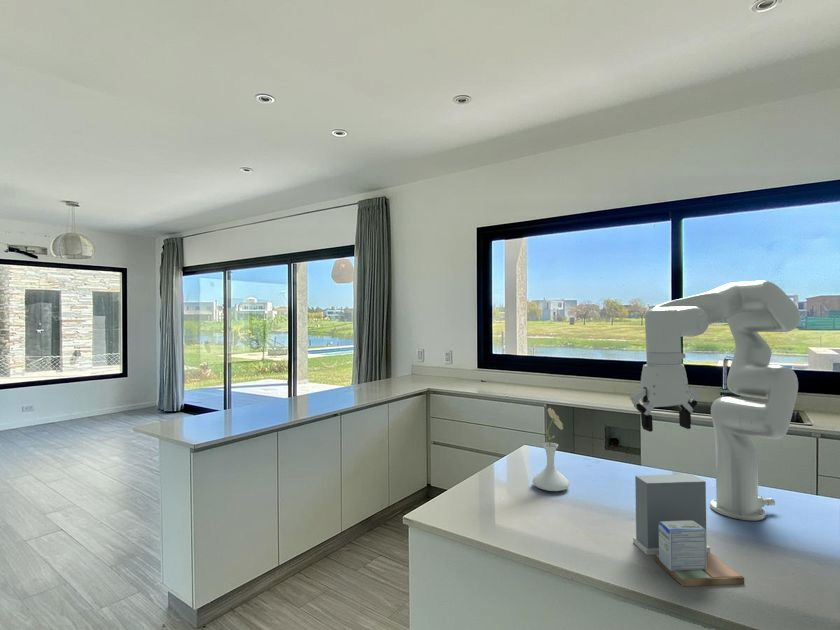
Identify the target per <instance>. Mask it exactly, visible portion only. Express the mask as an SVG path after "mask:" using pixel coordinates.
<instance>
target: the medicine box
mask: <svg viewBox="0 0 840 630" xmlns="http://www.w3.org/2000/svg"><path fill="white" fill-rule="evenodd" d="M706 539H707V529H706V530H705V529H704V528H703V527H702V526H700V525H699V524H697V523H696V522H694V521H693V520H689V521H660V522H659V560H660V561H661V562H662V563H663V564H664V565H665V566H666V567H667V568H668V569H669V570H670V571H678V570H700V569H707V563H706Z"/></svg>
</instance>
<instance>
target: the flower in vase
mask: <svg viewBox="0 0 840 630" xmlns="http://www.w3.org/2000/svg"><path fill="white" fill-rule="evenodd" d="M546 412H547V413H548V415H549V417H550V418H551V421H550V423H549V425H548V429H546V431H545V432H546V435H547V440H548V442H543V443H541V445H542V446H543V448H544V450H545V454H546V465H545V468H544V469H542V470H541V471H540V472H539V473H537V474H535V476H533V478H532V484H533V485H534V486H535V487H536V488H539V489H542V491H543V490H544V491H549V492H559V491H565V490H567V489H568V488H569V487H570V481H569V479H568V478H566V476H564V474H562V473H561V472H560V471H559V470H557V469H556V466H555V454H556V451H557V448H558V447H559V444H558V443H555V442H550V441H551V440H552V439H554V438H555V437H556V436H555V435H552V436H551V437H550V434H549V432H550V428H551V425H552V423H554V424H555V425H556V427H557V428H558V429H559V430H563V429H564V427H563V426H564V424H563V422H562V421H561V420H560V416H559V415H557V413H556V412H555V410H554V409H552V408H551V407H549V408H548V409H547V411H546Z"/></svg>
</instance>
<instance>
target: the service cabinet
mask: <svg viewBox="0 0 840 630" xmlns="http://www.w3.org/2000/svg"><path fill="white" fill-rule="evenodd" d="M634 478H635V485H634V486H635V487H634V488H635V536H633V538H632V542H633V543H634V545H636V546H637V548H639V550H641V551H642V552H643V553H644V554H645V555H646V556H654V554H659V522H660V521H689V520H693V521H694V522H696V523H697V524H699V525H700V526H702V527H703V528H704V529H705V530H706V531H707V496H706V495H707V491H706V490H707V487H706V486H707V484H706V480H704V479H701V478H700V477H698V476H697V475H694V474H692V473H683V474H682V473H681V474H676V473H675V474H647V475H646V474H645V475H644V474H642V475H635V477H634ZM707 539H708V538H706V552H710V553H711V547H710V546H709V545H708V544H707V542H708V541H707Z"/></svg>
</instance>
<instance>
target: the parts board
mask: <svg viewBox="0 0 840 630" xmlns="http://www.w3.org/2000/svg"><path fill="white" fill-rule="evenodd" d="M653 561H655V562H656V563H657V564H658V565H659V566H660V567H661V568H662V569H663V570H665V572H667V574H668V575H670V576H671V577H672V578H673V577H674V578H675V579H676V580H677V581H678V582H679V583H680V584H681V585H680V584H679V585H680V586H681V587H694V586H695V587H699V586H700V587H701V586H716V585H717V586H718V585H719V586H720V585H723V586H724V585H743V584H745V577H744V576H742V575H741V574H740V573H738V572H737V571H736V570H734V569H733V568H732V567H730V566H729V564H727V563H725V562H724V561H723V560H721V559H720V558H718V557H717V556H715V555H714V554H713V553H712V552H711V551H710V552H706V563H707V569H700V570H678V571H670V570H669V569H668V568H667V567H666V566H665V565H664V564H663V563H662V562H661V561H660V560H659V554H654V555H653ZM674 578H673V579H674ZM675 579H674V580H675ZM676 580H675V581H676ZM677 581H676V582H677ZM678 582H677V583H678Z"/></svg>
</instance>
